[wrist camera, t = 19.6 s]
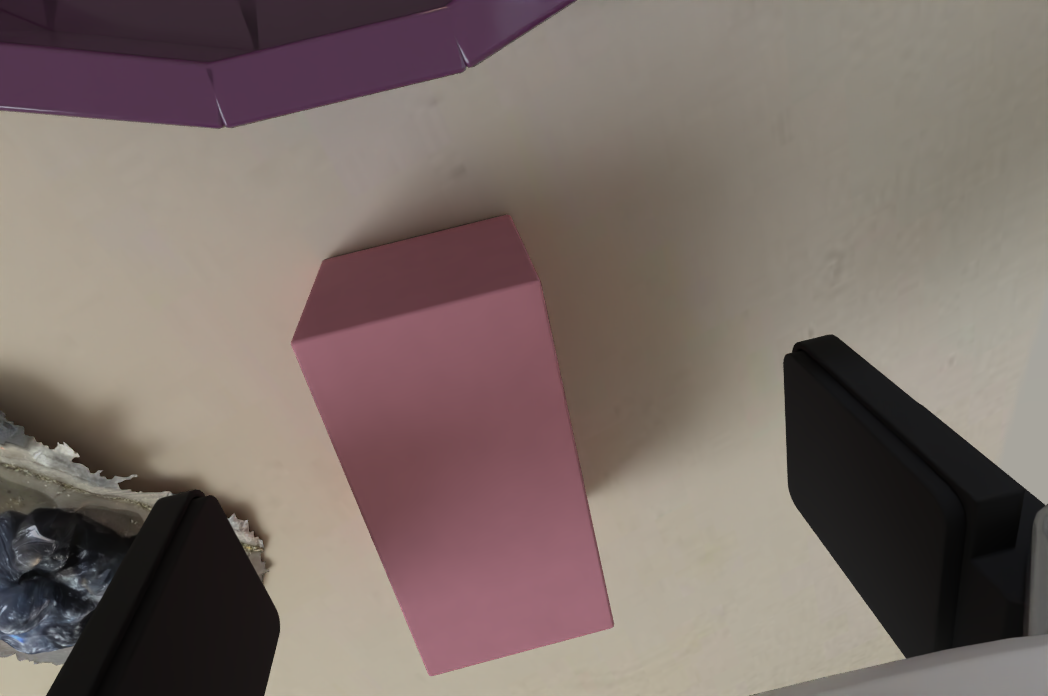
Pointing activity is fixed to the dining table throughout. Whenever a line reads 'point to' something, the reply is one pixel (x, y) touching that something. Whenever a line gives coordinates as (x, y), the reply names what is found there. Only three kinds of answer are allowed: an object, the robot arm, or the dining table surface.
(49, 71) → the bowl
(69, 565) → the geode
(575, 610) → the eraser
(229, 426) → the dining table surface
